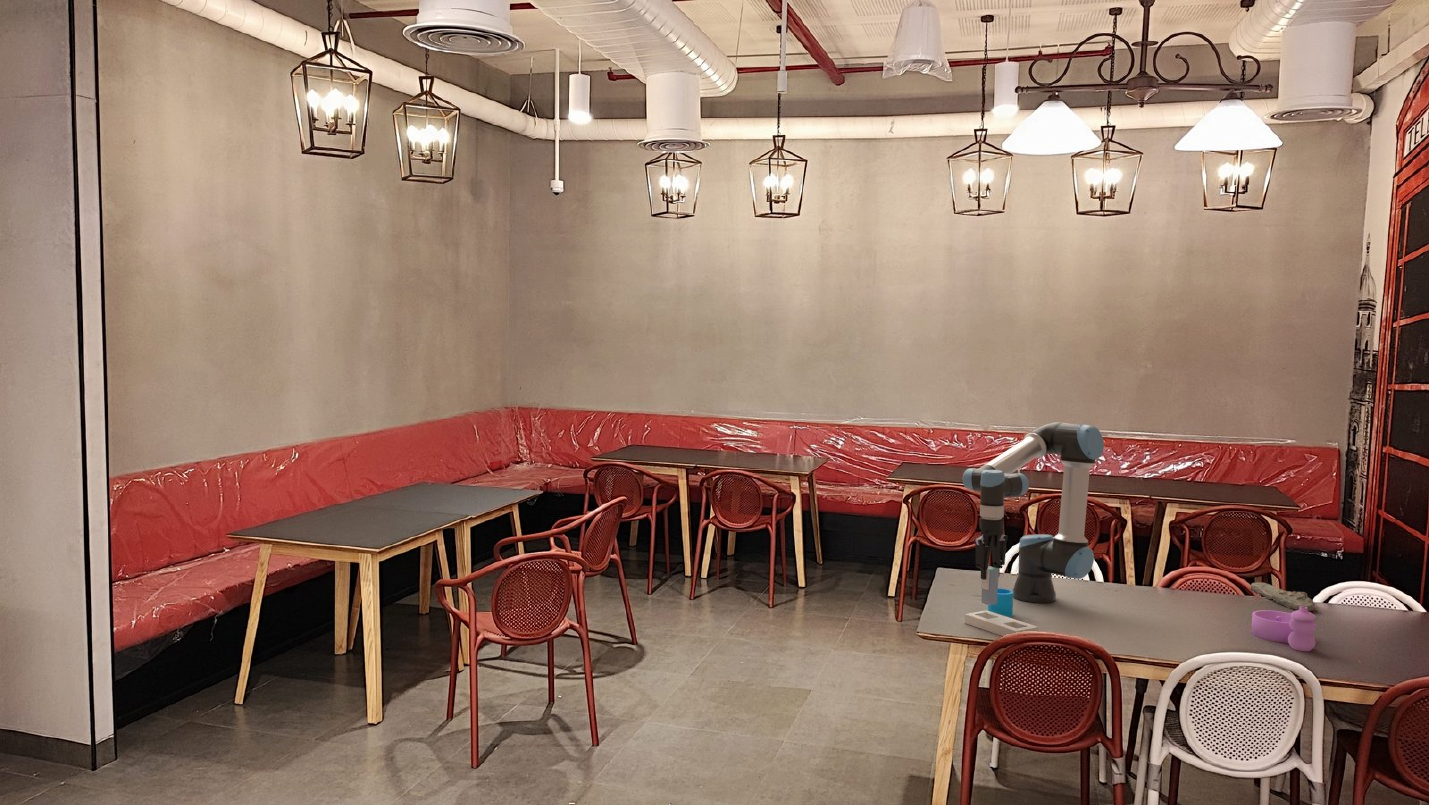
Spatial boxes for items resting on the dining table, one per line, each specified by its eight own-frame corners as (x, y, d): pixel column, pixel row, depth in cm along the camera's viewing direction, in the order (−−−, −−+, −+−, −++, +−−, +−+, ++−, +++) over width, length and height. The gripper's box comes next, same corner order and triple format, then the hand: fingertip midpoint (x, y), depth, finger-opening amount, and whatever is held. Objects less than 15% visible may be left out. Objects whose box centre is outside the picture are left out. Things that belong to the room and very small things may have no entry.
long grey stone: (1268, 592, 393) (1242, 593, 393) (1267, 579, 393) (1242, 580, 393) (1324, 612, 358) (1296, 613, 358) (1323, 597, 358) (1295, 598, 358)
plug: (989, 601, 338) (990, 566, 337) (997, 603, 335) (998, 568, 334) (981, 602, 336) (982, 567, 335) (989, 605, 333) (990, 569, 332)
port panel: (964, 623, 338) (964, 613, 337) (986, 619, 343) (986, 609, 343) (1015, 640, 319) (1016, 630, 319) (1037, 636, 324) (1038, 626, 324)
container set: (1242, 628, 337) (1244, 589, 336) (1289, 629, 337) (1291, 590, 336) (1282, 652, 312) (1284, 610, 311) (1333, 653, 312) (1335, 611, 311)
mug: (1011, 619, 344) (1012, 595, 343) (986, 616, 346) (987, 592, 346) (1013, 610, 355) (1014, 587, 354) (989, 607, 358) (990, 584, 357)
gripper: (1000, 513, 341) (999, 582, 342) (964, 518, 332) (963, 588, 334) (1018, 517, 334) (1016, 587, 336) (981, 521, 326) (980, 594, 327)
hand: (989, 587), depth 335 cm, fingers closed on plug, 3 cm apart
